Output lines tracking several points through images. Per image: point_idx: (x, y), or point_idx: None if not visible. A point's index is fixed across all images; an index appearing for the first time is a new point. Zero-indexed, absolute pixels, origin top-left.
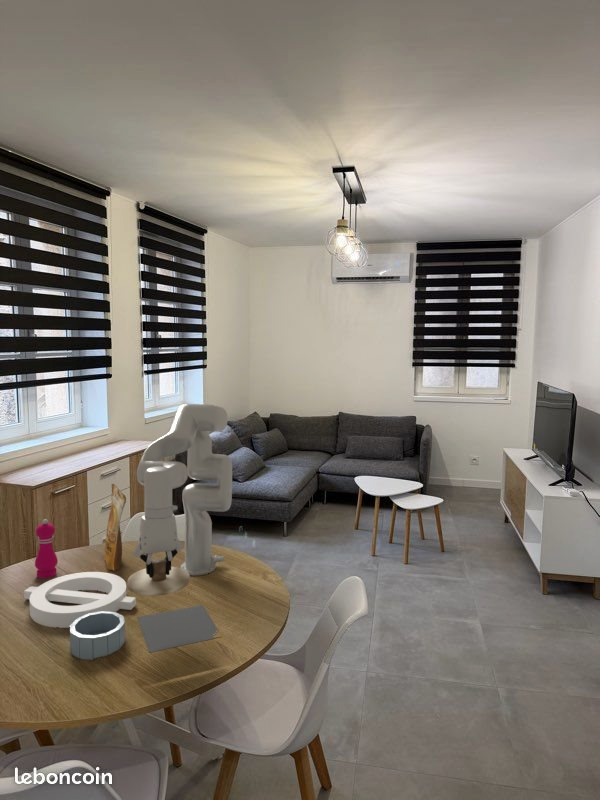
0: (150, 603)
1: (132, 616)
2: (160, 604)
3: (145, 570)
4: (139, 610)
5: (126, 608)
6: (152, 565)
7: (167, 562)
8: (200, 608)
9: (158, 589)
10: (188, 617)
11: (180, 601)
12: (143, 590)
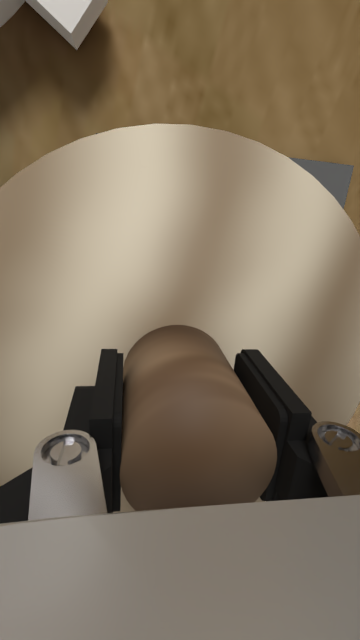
0: (180, 5)
1: (80, 99)
2: (217, 46)
3: (112, 179)
4: (119, 54)
5: (56, 29)
6: (116, 506)
7: (269, 499)
8: (333, 190)
9: (129, 508)
10: None
11: (300, 68)
12: None
